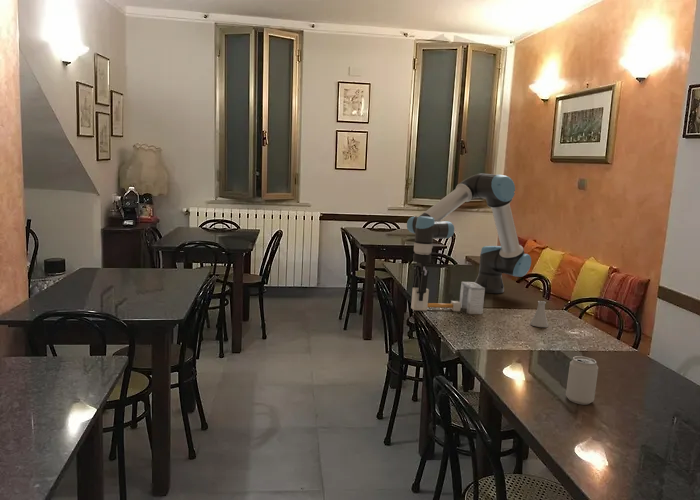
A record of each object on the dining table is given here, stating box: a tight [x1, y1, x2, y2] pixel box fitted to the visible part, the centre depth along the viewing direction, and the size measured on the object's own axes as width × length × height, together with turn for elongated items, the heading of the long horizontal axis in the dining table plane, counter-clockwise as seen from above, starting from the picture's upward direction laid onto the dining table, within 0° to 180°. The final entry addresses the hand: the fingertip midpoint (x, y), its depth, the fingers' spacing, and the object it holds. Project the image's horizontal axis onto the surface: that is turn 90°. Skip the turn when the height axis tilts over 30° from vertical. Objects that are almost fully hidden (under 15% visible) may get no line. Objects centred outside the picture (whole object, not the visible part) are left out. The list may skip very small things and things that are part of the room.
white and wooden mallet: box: [410, 287, 461, 312], centre depth 260 cm, size 21×4×9 cm, turn 101°
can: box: [565, 355, 599, 405], centre depth 167 cm, size 8×8×12 cm
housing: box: [458, 281, 486, 315], centre depth 263 cm, size 6×12×12 cm, turn 11°
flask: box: [529, 300, 549, 328], centre depth 246 cm, size 7×7×10 cm
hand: (417, 306), depth 259 cm, fingers closed on white and wooden mallet, 4 cm apart
